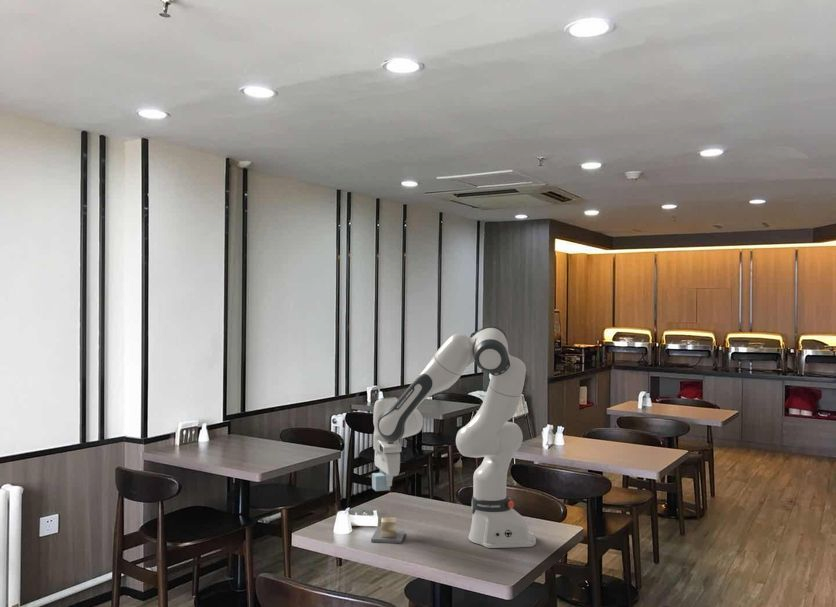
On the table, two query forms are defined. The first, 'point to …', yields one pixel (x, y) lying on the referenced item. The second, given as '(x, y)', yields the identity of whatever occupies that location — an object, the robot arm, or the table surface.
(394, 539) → the slate coaster
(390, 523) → the birch cube
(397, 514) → the table surface
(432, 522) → the table surface
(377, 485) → the bluegrey cube
